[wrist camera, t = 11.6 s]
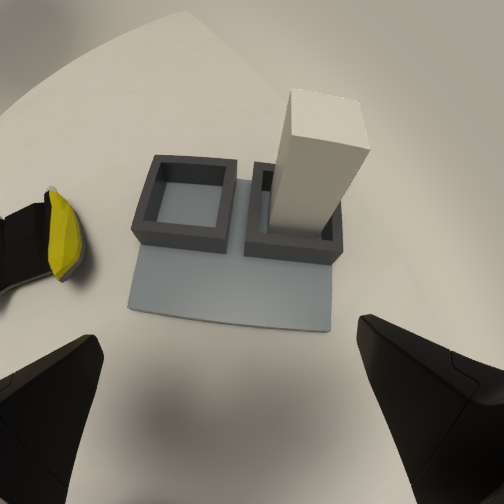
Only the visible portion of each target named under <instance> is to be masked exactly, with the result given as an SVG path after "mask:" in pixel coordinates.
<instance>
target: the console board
mask: <svg viewBox="0 0 504 504" xmlns="http://www.w3.org/2000/svg"><path fill="white" fill-rule="evenodd" d="M275 165H276V164H270V163H262V162H254V168H253V177H252V180H242V179H237V160H233V159H222V158H209V157H194V156H174V155H155V156H154V158H153V161H152V164H151V167H150V169H149V172H148V175H147V178H146V181H145V184H144V187H143V190H142V193H141V196H140V199H139V203H138V206H137V209H136V212H135V216H134V219H133V223H132V226H131V230H132V232H133V233H134V235H135V236H136V237H137V239H138V240H139V242H140V243H141V246H140V250H139V254H138V258H137V263H136V267H135V271H134V276H133V281H132V286H131V291H130V296H129V301H128V307H127V308H129V309H131V310H135V311H141V312H146V313H152V314H158V315H164V316H171V317H177V318H184V319H191V320H198V321H206V322H214V323H222V324H230V325H239V326H249V327H259V328H270V329H282V330H295V331H310V332H329V331H331V302H332V264H333V263H334V262H335V261H336V260H337V258H338V257H339V256H340V255H341V254H342V253H343V232H342V213H341V201H340V202H339V204H338V206H337V207H336V209H335V211H334V212H333V214H332V215H331V217H330V219H329V220H328V222H327V223H326V225H325V227H324V228H323V230H322V231H321V233H320V235H319V236H318V238H317V239H312V238H304V237H296V236H287V235H279V234H270V233H266V231H267V217H268V203H269V195H270V190H271V185H272V180H273V175H274V170H275Z"/></svg>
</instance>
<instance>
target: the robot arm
mask: <svg viewBox="0 0 504 504" xmlns="http://www.w3.org/2000/svg"><path fill="white" fill-rule="evenodd" d="M357 345H358V348H359V351H360V354H361V357H362V360H363V364H364V367H365V370H366V374H367V377H368V380H369V382H370V385H371V387H372V389H373V392H374V394H375V396H376V398H377V401H378V403H379V405H380V408H381V410H382V413H383V415H384V417H385V420H386V422H387V425H388V427H389V429H390V432H391V434H392V437H393V439H394V442H395V444H396V447H397V449H398V452H399V455H400V457H401V460H402V462H403V465H404V468H405V470H406V473H407V476H408V479H409V481H410V484H411V487H412V490H413V493H414V496H415V499H416V502H417V504H504V370H500V369H498V368H495V367H492V366H489V365H486V364H483V363H481V362H478V361H475V360H472V359H470V358H468V357H465V356H463V355H460V354H458V353H456V352H454V351H450V350H449V349H447V348H445V347H443V346H440V345H438V344H436V343H434V342H432V341H429V340H427V339H425V338H423V337H421V336H418V335H416V334H414V333H412V332H410V331H407V330H405V329H403V328H401V327H398V326H396V325H394V324H392V323H390V322H388V321H385V320H383V319H381V318H379V317H377V316H374V315H372V314H368V315H362V316H360V317H359V320H358V328H357ZM103 361H104V354H103V351H102V349H101V346H100V344H99V342H98V339H97V337H96V336H95V335H87V334H86V335H83V336H81V337H79V338H78V339H76V340H74V341H72V342H70V343H68V344H66V345H64V346H63V347H61V348H59V349H57V350H55V351H53V352H51V353H50V354H48V355H46V356H44V357H42V358H40V359H38V360H37V361H35V362H33V363H31V364H29V365H27V366H25V367H24V368H22V369H20V370H18V371H16V372H15V373H12V374H11V375H9V376H7V377H5V378H3V379H1V380H0V504H65V502H66V497H67V492H68V487H69V483H70V478H71V474H72V470H73V466H74V462H75V458H76V455H77V451H78V447H79V444H80V440H81V437H82V434H83V430H84V427H85V424H86V421H87V417H88V414H89V411H90V408H91V405H92V402H93V399H94V396H95V393H96V389H97V385H98V381H99V377H100V373H101V369H102V365H103Z"/></svg>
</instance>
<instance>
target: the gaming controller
mask: <svg viewBox="0 0 504 504" xmlns="http://www.w3.org/2000/svg"><path fill="white" fill-rule="evenodd" d="M85 251H86V245H85V240H84V234H83V229H82V225H81V223H80V221H79V218H78V216H77V213H76V212H75V210H74V209H73V208H72V207H71V205H70V204H69V203H68V202H67V201H66V200H65V199H64V198H63V197H62V196H61V195H60V194H58V192H57V190H56V188H55V187H53V186H50V187H48V188H47V191H46V193H45V194H44V202H43V203H33V204H31V205H29V206H27V207H25V208H23V209H21V210H19V211H17V212H15V213H13V214H11V215H9V216H7V217H5V220H4V219H3V218H2V217H1V216H0V296H1V295H2V294H4V293H5V292H7V291H8V290H10V289H11V288H13V287H15V286H18V285H20V284H23V283H26V282H29V281H31V280H34V279H37V278H40V277H43V276H46V275H49V274H53V275H54V276H55V277H56V278H57V280H59V281H60V282H62V283H63V282H65V281H67V280H68V278H69V277H70V276H71V275H72V273H73V272H74V271H75V270H76V268H77V267H78V266H79V265H80V264H81V262H82V261H83V258H84V254H85Z"/></svg>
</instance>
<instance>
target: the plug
mask: <svg viewBox="0 0 504 504" xmlns="http://www.w3.org/2000/svg"><path fill="white" fill-rule="evenodd" d="M370 150H371V149H370V145H369V140H368V136H367V132H366V128H365V124H364V120H363V116H362V113H361V109H360V105H359V102H358V101H355V100H351V99H347V98H343V97H338V96H334V95H328V94H324V93H318V92H313V91H307V90H300V89H294V88H291V91H290V96H289V101H288V106H287V111H286V116H285V121H284V126H283V131H282V136H281V141H280V146H279V151H278V156H277V160H276V165H275V170H274V175H273V180H272V185H271V190H270V195H269V203H268V217H267V231H266V233H270V234H279V235H287V236H296V237H304V238H312V239H317V238H318V236H319V235H320V233H321V231H322V230H323V228H324V227H325V225H326V223H327V222H328V220H329V219H330V217H331V215H332V214H333V212H334V211H335V209H336V207H337V206H338V204H339V202H340V201H341V199H342V197H343V196H344V194H345V192H346V191H347V189H348V187H349V186H350V184H351V182H352V181H353V179H354V177H355V176H356V174H357V172H358V171H359V169H360V167H361V165H362V164H363V162H364V160H365V158H366V157H367V155H368V153H369V151H370Z"/></svg>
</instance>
